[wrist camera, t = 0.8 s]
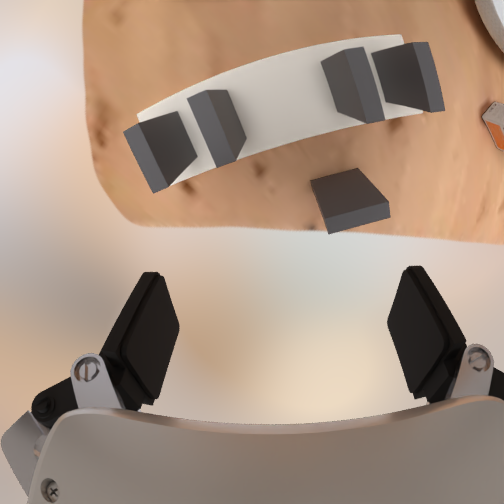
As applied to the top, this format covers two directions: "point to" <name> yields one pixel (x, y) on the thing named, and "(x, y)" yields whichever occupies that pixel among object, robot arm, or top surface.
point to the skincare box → (496, 123)
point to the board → (277, 99)
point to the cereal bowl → (493, 19)
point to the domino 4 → (349, 200)
